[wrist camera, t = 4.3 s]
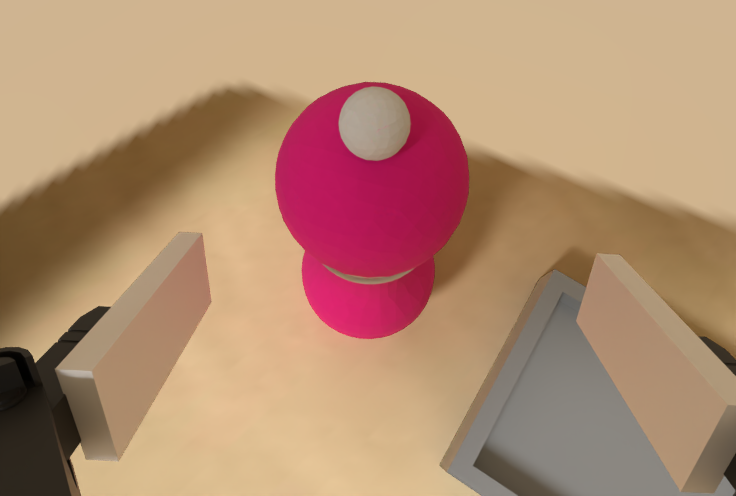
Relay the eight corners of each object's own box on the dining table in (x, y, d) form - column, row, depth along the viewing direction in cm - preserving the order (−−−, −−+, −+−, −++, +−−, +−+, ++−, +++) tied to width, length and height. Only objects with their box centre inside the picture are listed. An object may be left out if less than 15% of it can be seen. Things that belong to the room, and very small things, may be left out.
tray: (439, 465, 27) (446, 472, 24) (539, 278, 30) (554, 268, 28) (705, 643, 24) (742, 671, 22) (782, 419, 28) (821, 422, 25)
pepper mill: (344, 217, 31) (315, -60, 12) (442, 265, 30) (578, 48, 11) (289, 312, 29) (152, 162, 10) (392, 367, 28) (454, 315, 9)
